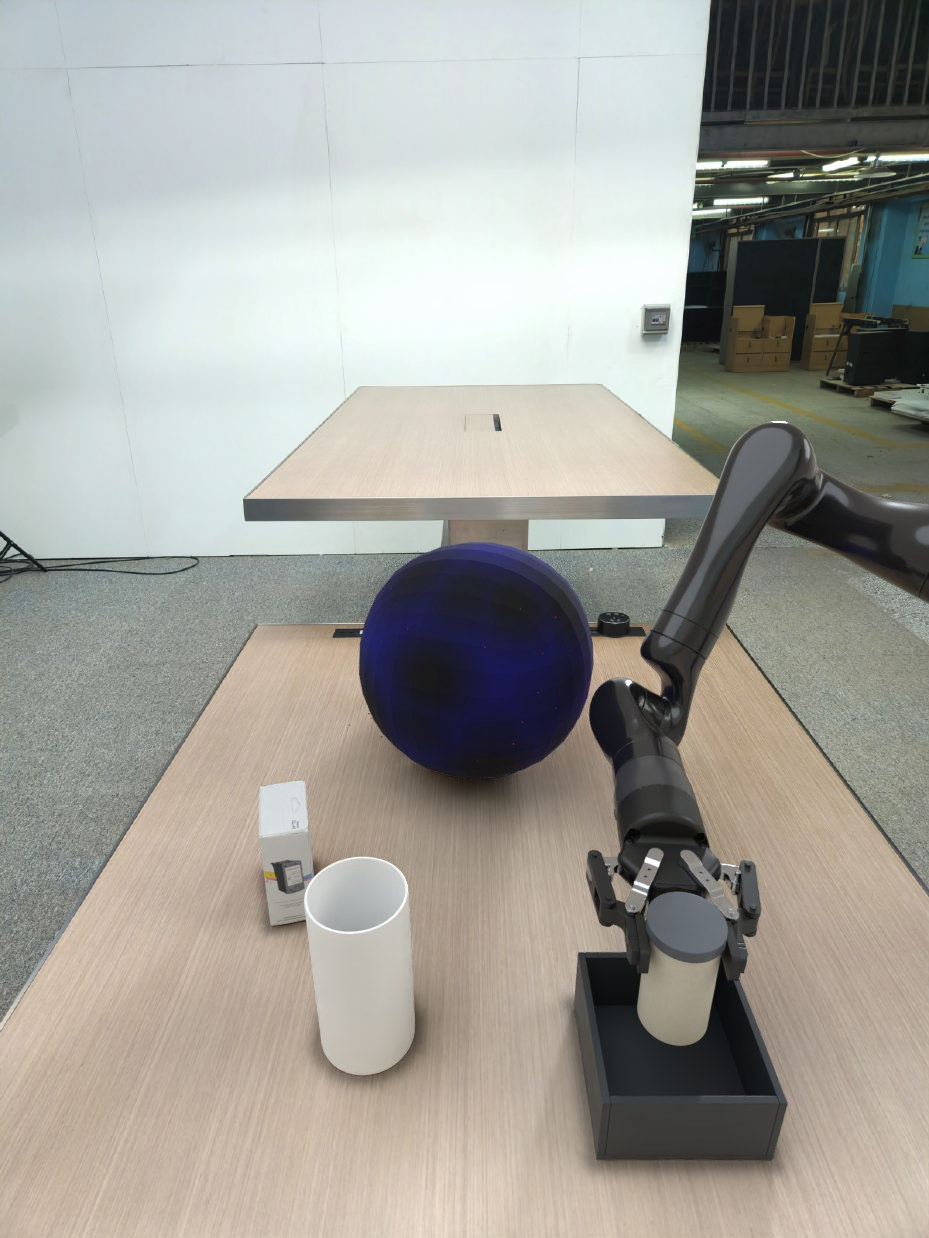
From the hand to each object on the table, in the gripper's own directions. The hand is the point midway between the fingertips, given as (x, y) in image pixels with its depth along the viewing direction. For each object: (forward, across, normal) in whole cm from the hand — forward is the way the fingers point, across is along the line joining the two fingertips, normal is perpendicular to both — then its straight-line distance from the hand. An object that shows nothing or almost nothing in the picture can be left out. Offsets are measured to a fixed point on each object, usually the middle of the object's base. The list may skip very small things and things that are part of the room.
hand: (689, 968), depth 54 cm
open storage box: (-2, 0, +15) cm, 15 cm away
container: (-2, 0, +8) cm, 8 cm away
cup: (-4, -25, +15) cm, 30 cm away
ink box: (-19, -36, +16) cm, 44 cm away
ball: (-48, -21, +16) cm, 54 cm away
